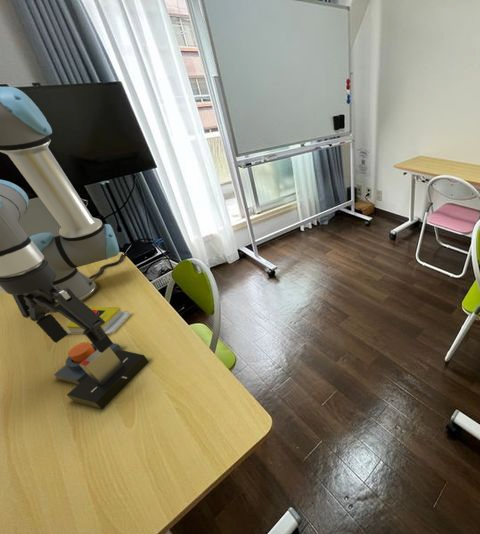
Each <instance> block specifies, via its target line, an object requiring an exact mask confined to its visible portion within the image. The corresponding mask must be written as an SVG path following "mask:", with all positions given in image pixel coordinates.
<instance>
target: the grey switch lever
mask: <svg viewBox="0 0 480 534" xmlns="http://www.w3.org/2000/svg"><path fill="white" fill-rule="evenodd" d="M80 366H81V367H82V368H83V370H84V371H85V372H86V373H87V374H88V375H89V376H90V377H91V378H92V379H93V380H94V382H95V383H96V384H100V385H104V384H105V383H106V382H107V381H108V380H109V379H110V378H111V377H112V376H113V375H114V374H115V373H116V372H117V371H118V370H119V369H120V368H121V367H123V366H124V365H123V364H122V362H121V361H120V360H119V359H118V357H117V356H116V355H115V353H114V352H113V351H112V350H111V348H110V347H108V348H107V349H106V350H105V351H104V352H103V353H101V352H99V351H98V350H96V351H95V352H94V353H93V354H92V355H90V356H89V357H88V358H87V359H86V360H84V361H83V362H81V363H80Z"/></svg>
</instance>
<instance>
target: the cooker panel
mask: <svg viewBox="0 0 480 534" xmlns="http://www.w3.org/2000/svg"><path fill="white" fill-rule="evenodd" d="M114 353H115V355H116V356H117V357H118V359H119V360H120V361H121V362H122V364H123V365H124V366H123V367H121V368H120V369H119V370H118V371H117V372H116V373H115V374H114V375H113V376H112V377H111V378H110V379H109V380H108V381H107V382H106V383H105V384H104V385H100V384H96V383H95V382H94V380H93V379H92V378H91V377H90V376H89V375H88V376H87V377H86V378H85V379H84V380H83V381H82V382H81V383H79V384H76V386H75V387H74V388H72V390H70V391H69V392H68V393H67V394H66V396H67V397H68V398H69V399H70V400H71V401H72V402H74V403H77V404H81V405H84V406H87V407H88V406H89V407H92V408H96V409H99V410H104V408H106V407H107V405H108V404H109V403H110V402H111V401H112V400H113V399H114V398H115V397H116V396H117V395H118V394H119V393H120V392H121V391H122V390H123V389H124V388H125V387H126V386H127V385H128V384H129V383H130V382H131V381H132V380H133V379H134V377H136V376H137V375H138V374H139V372H141V371H142V370H143V368H145V366H147V364H148V363H149V360H148V358H147V357H146V355H145V354H141V353H136V352H132V351H127V350H117V351H115V352H114Z"/></svg>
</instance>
